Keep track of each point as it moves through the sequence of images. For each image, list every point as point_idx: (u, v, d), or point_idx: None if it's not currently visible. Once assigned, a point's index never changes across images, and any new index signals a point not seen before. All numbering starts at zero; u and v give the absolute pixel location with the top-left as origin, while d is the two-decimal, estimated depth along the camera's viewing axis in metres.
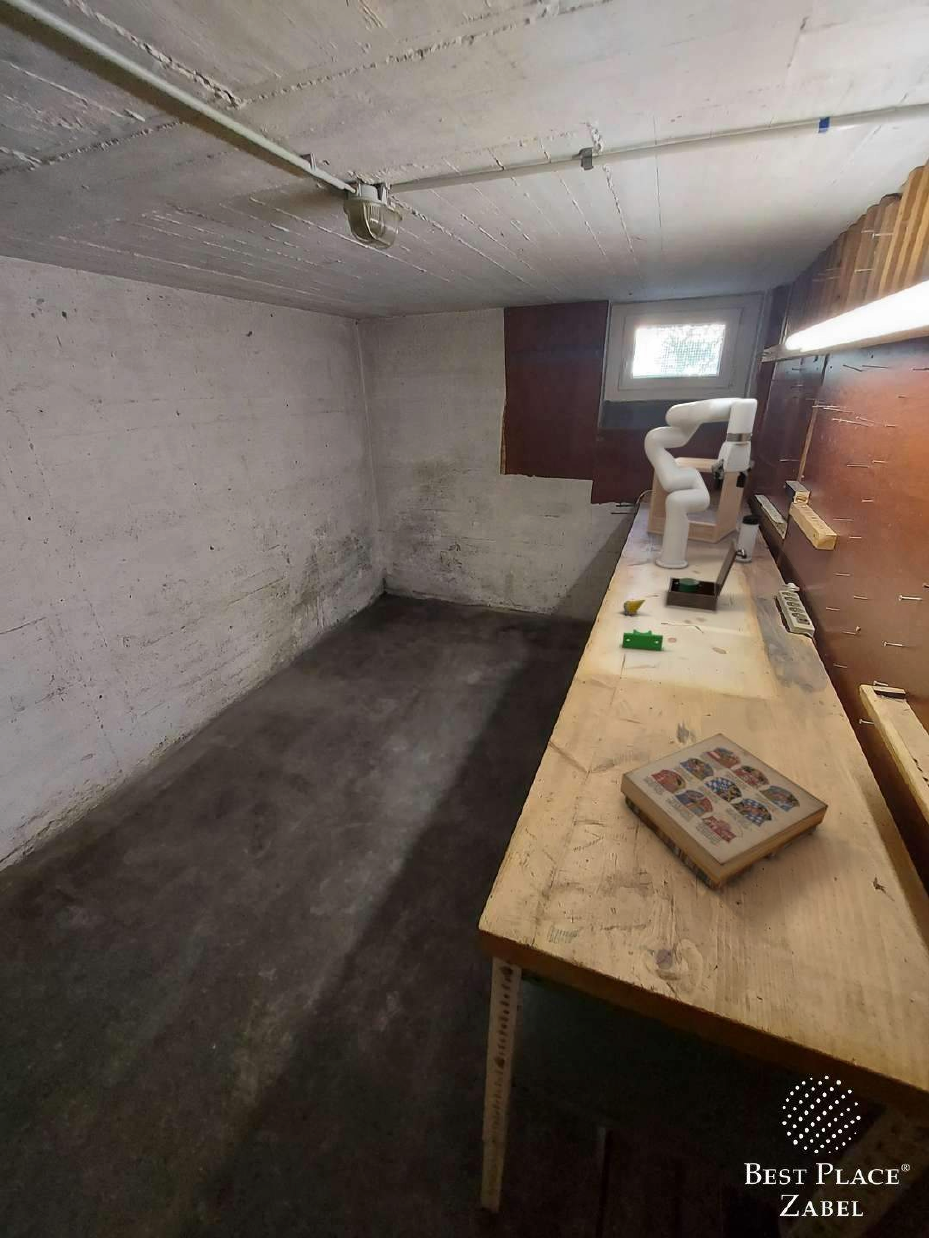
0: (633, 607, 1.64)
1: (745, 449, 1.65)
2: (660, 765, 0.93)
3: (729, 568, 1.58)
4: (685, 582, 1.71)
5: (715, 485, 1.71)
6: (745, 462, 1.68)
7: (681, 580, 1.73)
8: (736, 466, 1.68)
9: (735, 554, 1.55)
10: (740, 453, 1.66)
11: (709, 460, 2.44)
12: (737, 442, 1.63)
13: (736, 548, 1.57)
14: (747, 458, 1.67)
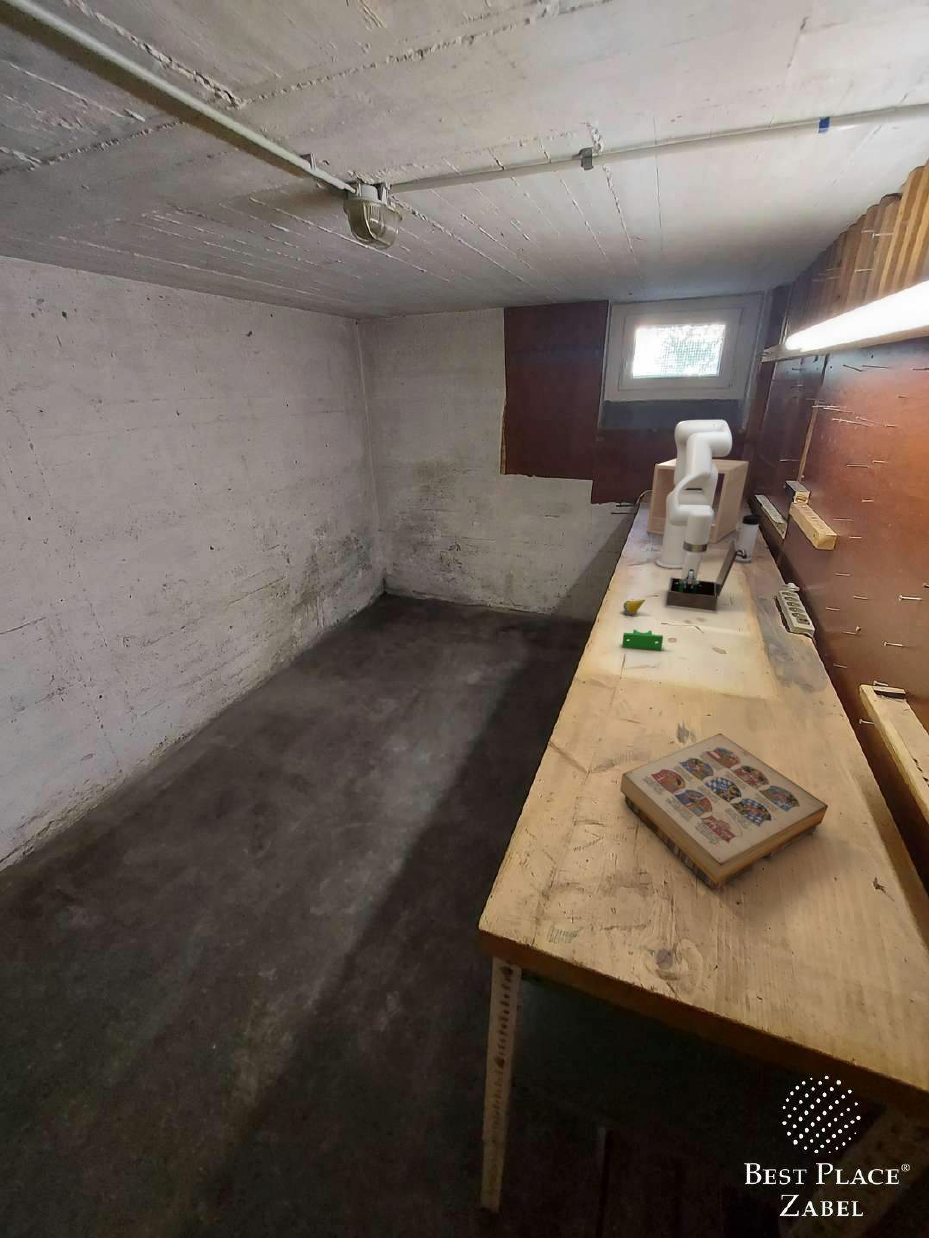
0: (633, 607, 1.64)
1: None
2: (660, 765, 0.93)
3: (729, 568, 1.58)
4: None
5: None
6: None
7: (681, 580, 1.73)
8: None
9: (735, 554, 1.55)
10: None
11: None
12: (703, 552, 1.63)
13: (736, 548, 1.57)
14: None
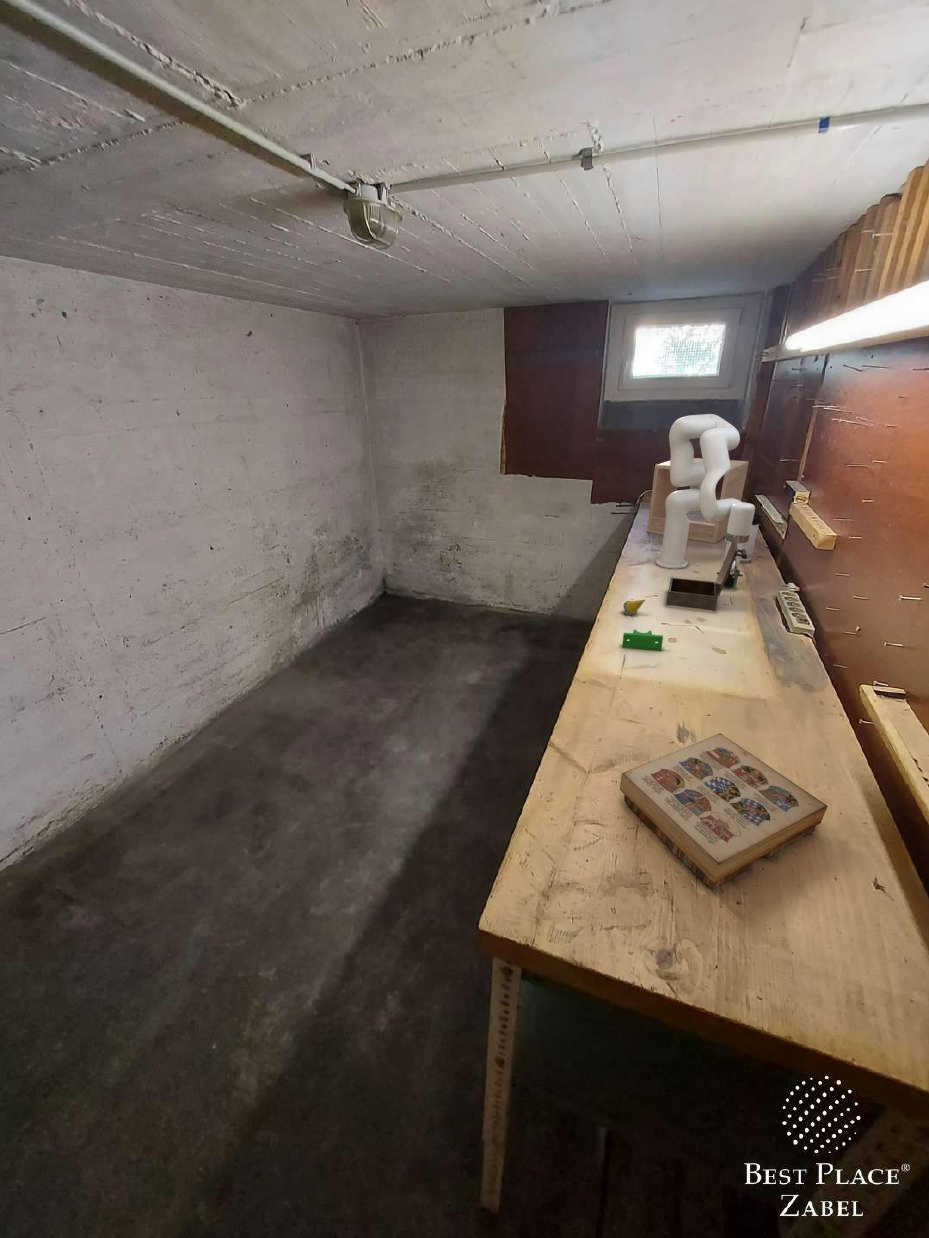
0: (633, 607, 1.64)
1: None
2: (659, 764, 0.93)
3: (729, 568, 1.58)
4: None
5: (728, 583, 1.79)
6: None
7: None
8: None
9: (735, 554, 1.55)
10: None
11: None
12: (745, 543, 1.73)
13: (736, 548, 1.57)
14: None
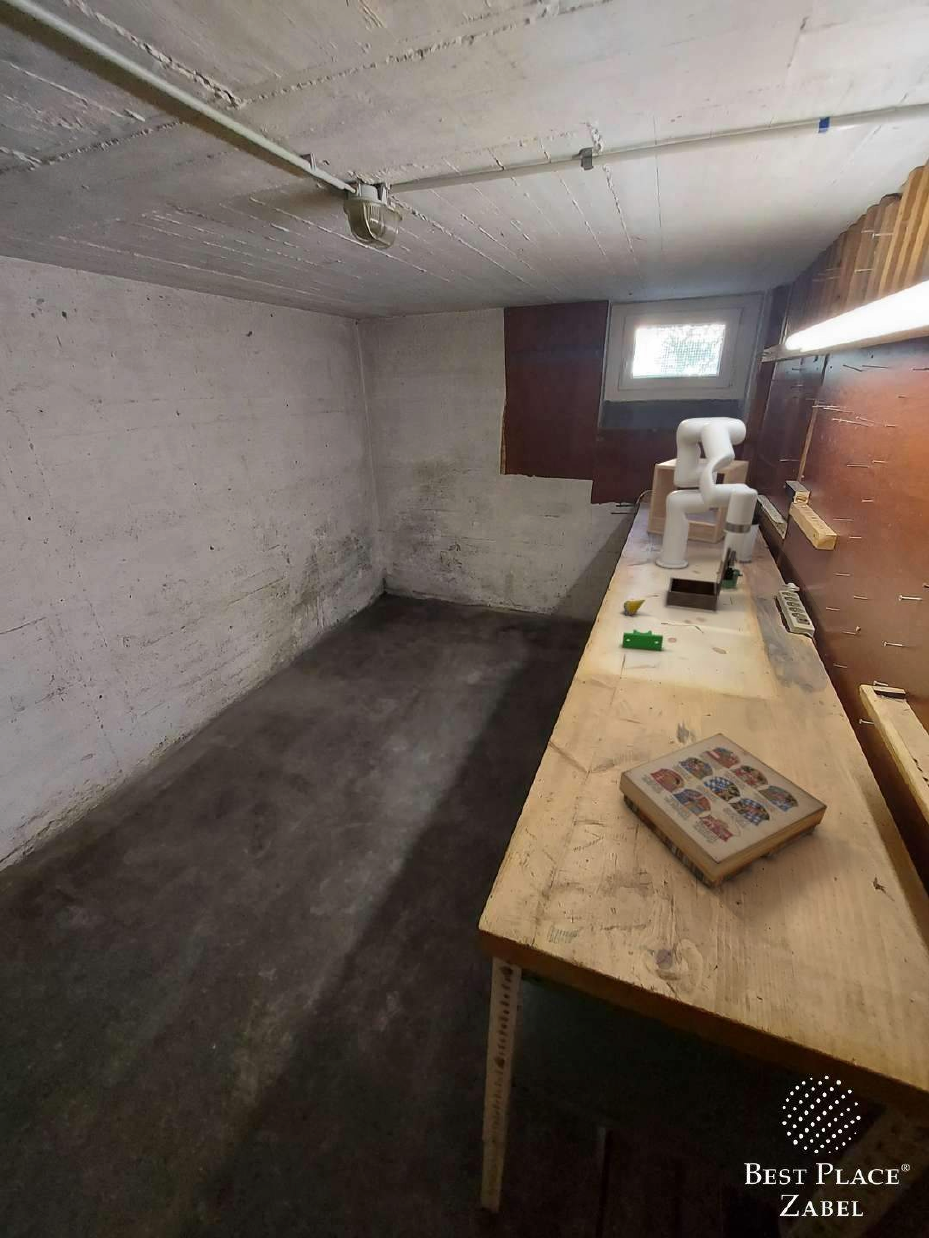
0: (633, 607, 1.64)
1: None
2: (659, 764, 0.93)
3: (724, 567, 1.58)
4: None
5: (727, 576, 1.64)
6: None
7: None
8: None
9: (728, 553, 1.56)
10: None
11: None
12: (746, 532, 1.56)
13: (728, 547, 1.58)
14: None
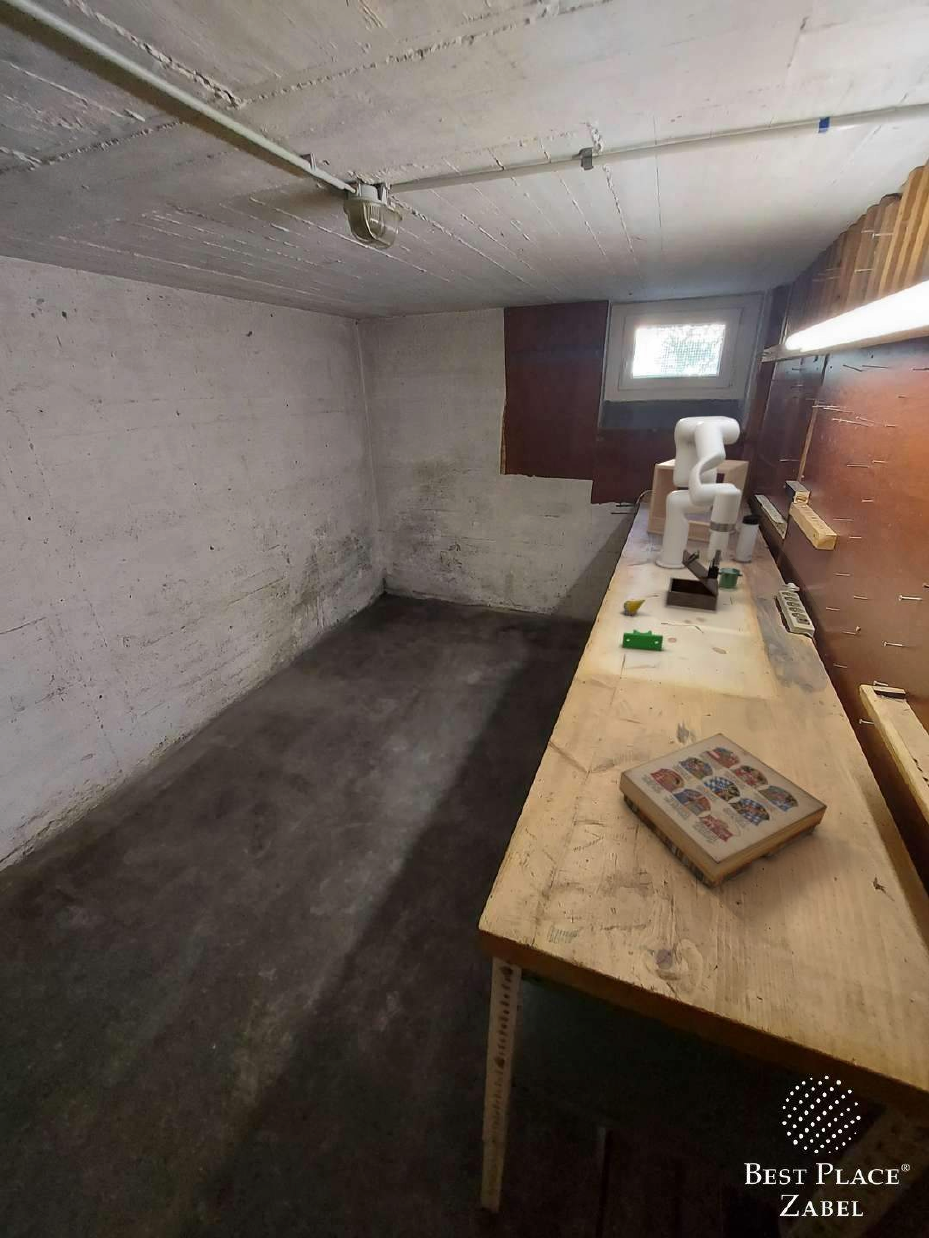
0: (633, 607, 1.64)
1: None
2: (659, 764, 0.93)
3: (695, 575, 1.63)
4: (727, 571, 1.80)
5: (712, 575, 1.66)
6: None
7: (722, 569, 1.82)
8: None
9: (685, 565, 1.63)
10: None
11: None
12: (731, 532, 1.57)
13: (683, 560, 1.65)
14: None
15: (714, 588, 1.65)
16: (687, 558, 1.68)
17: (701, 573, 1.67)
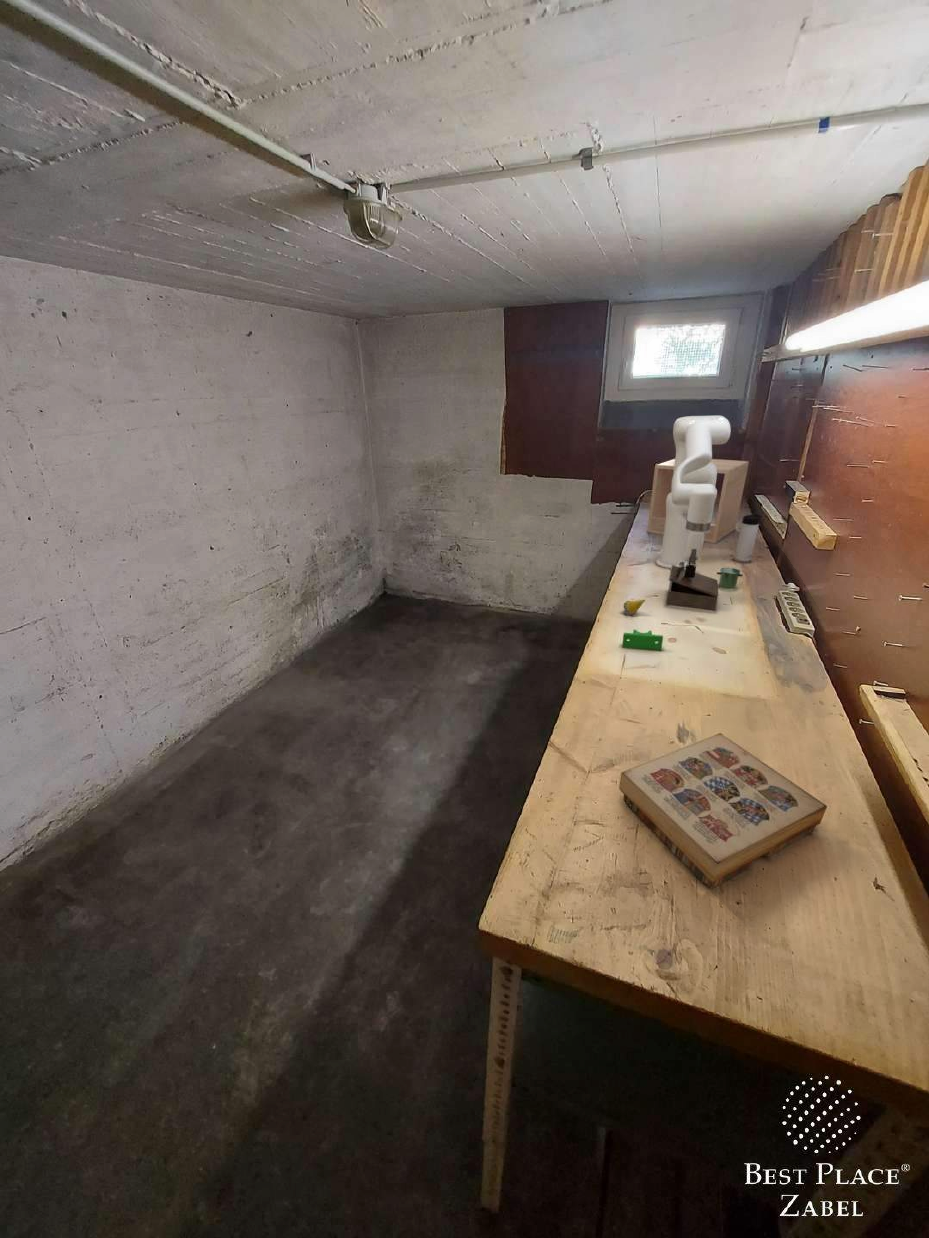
0: (633, 607, 1.64)
1: None
2: (659, 764, 0.93)
3: (687, 585, 1.65)
4: (727, 571, 1.80)
5: (689, 573, 1.69)
6: None
7: (722, 569, 1.82)
8: None
9: (672, 580, 1.67)
10: None
11: None
12: (706, 531, 1.60)
13: (669, 576, 1.69)
14: None
15: (712, 590, 1.65)
16: (674, 573, 1.72)
17: (694, 581, 1.69)
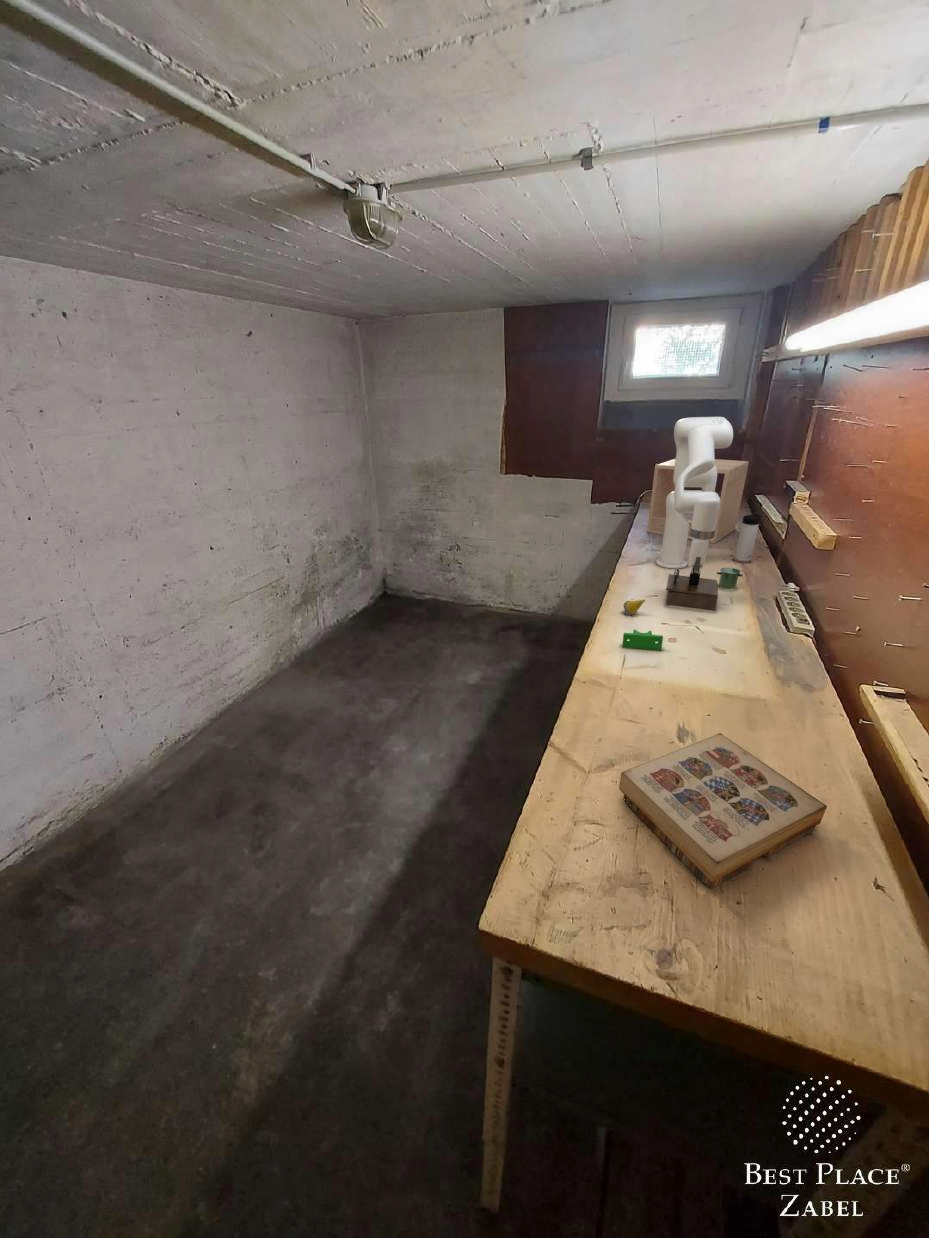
0: (633, 607, 1.64)
1: None
2: (659, 764, 0.93)
3: (685, 591, 1.67)
4: (727, 571, 1.80)
5: (693, 581, 1.70)
6: None
7: (722, 569, 1.82)
8: None
9: (669, 589, 1.68)
10: None
11: None
12: (710, 539, 1.61)
13: None
14: None
15: (711, 591, 1.65)
16: (671, 581, 1.74)
17: (692, 586, 1.70)
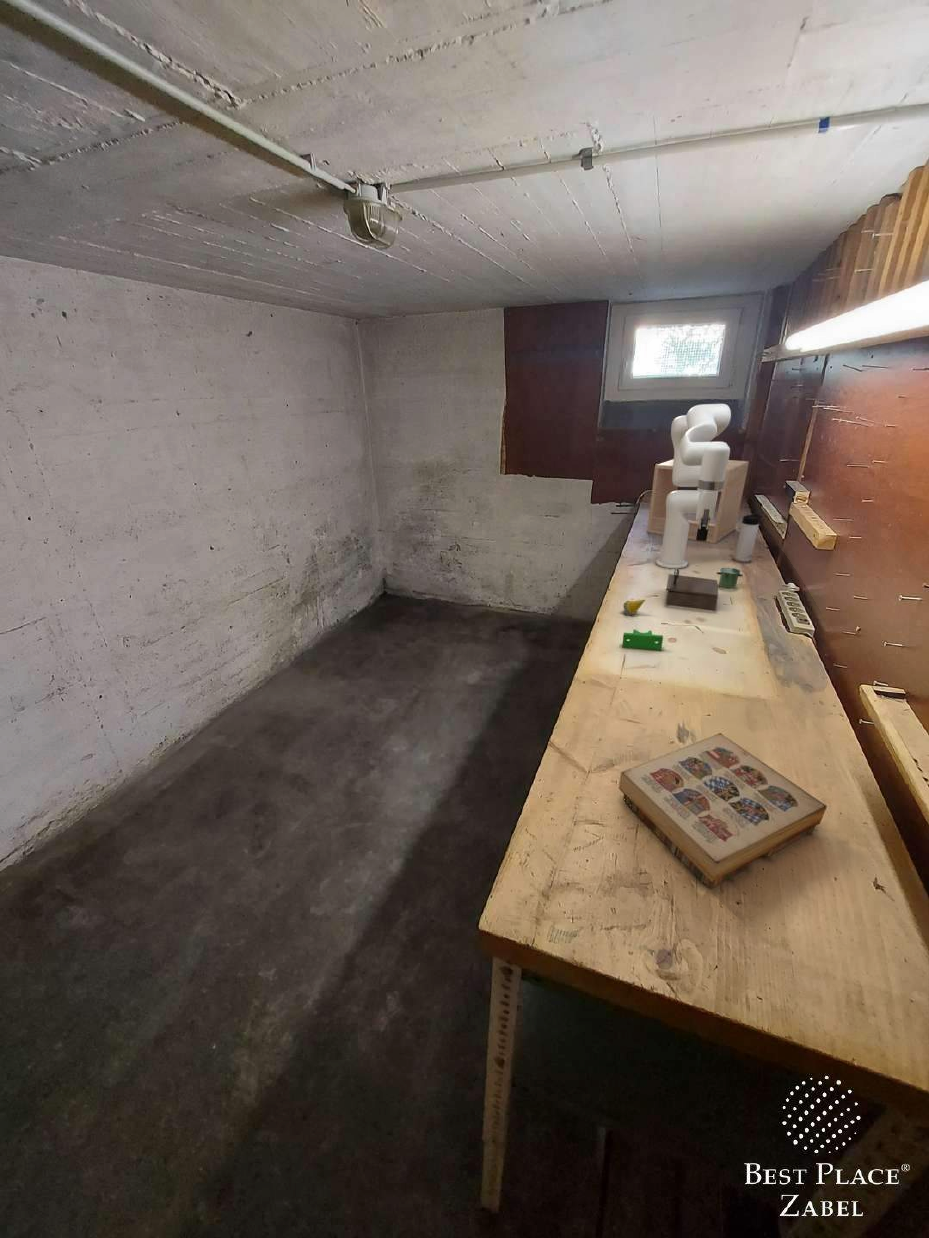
0: (633, 607, 1.64)
1: None
2: (659, 764, 0.93)
3: (685, 591, 1.67)
4: (727, 571, 1.80)
5: (701, 536, 1.63)
6: None
7: (722, 569, 1.82)
8: None
9: (669, 589, 1.68)
10: None
11: None
12: (719, 490, 1.54)
13: None
14: None
15: (711, 591, 1.65)
16: (671, 581, 1.74)
17: (692, 586, 1.70)
